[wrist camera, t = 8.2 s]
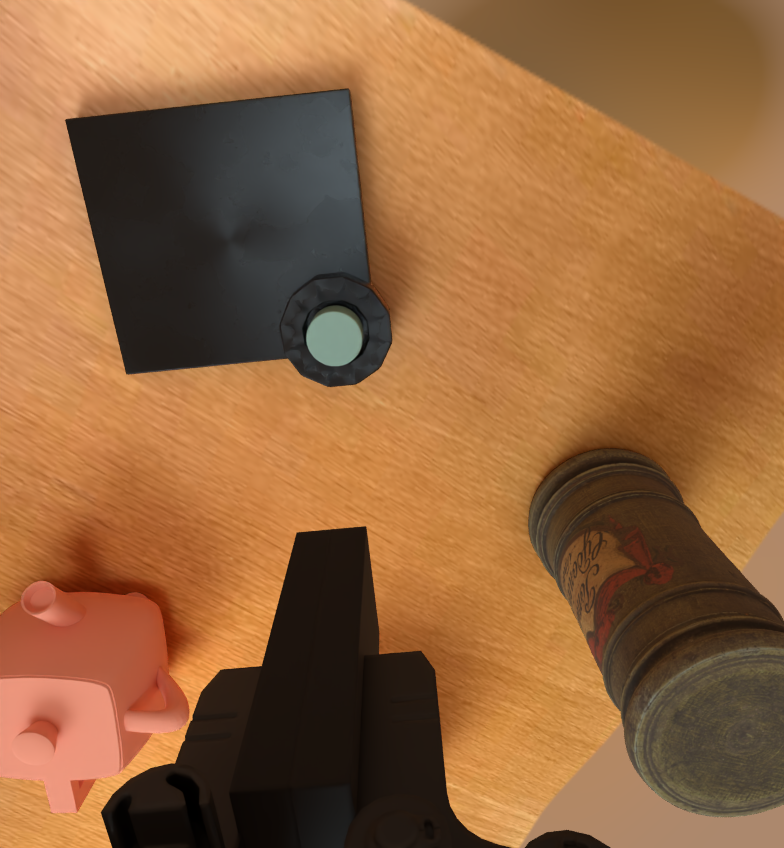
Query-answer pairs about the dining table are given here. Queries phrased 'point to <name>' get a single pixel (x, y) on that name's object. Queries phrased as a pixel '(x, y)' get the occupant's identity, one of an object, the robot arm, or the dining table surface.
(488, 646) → the dining table surface
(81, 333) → the dining table surface
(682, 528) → the container
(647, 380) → the dining table surface
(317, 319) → the button
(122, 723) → the teapot
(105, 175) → the scale
